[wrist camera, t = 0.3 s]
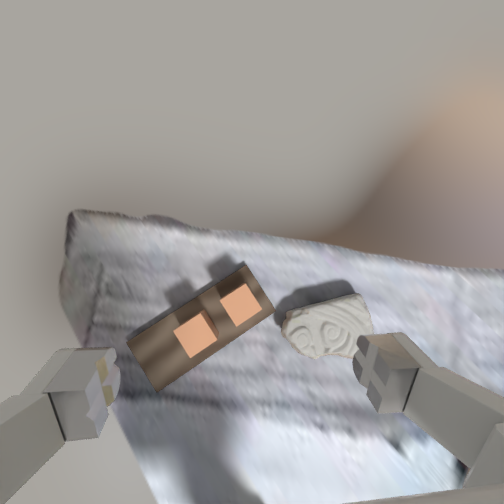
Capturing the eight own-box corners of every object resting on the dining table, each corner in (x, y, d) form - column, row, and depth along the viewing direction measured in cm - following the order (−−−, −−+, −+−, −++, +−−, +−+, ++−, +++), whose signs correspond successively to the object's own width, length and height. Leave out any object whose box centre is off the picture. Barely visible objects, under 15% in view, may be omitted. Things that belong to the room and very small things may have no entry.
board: (275, 310, 61) (276, 310, 60) (158, 390, 57) (156, 392, 56) (246, 265, 62) (246, 264, 61) (128, 341, 58) (126, 342, 56)
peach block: (258, 305, 60) (262, 309, 53) (235, 321, 59) (236, 326, 52) (243, 282, 60) (245, 283, 53) (221, 297, 59) (219, 300, 52)
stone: (355, 291, 64) (366, 292, 58) (372, 352, 62) (385, 358, 57) (274, 312, 62) (278, 315, 56) (290, 375, 60) (295, 384, 55)
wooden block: (218, 332, 58) (217, 339, 51) (195, 348, 58) (190, 358, 51) (204, 309, 59) (200, 313, 52) (180, 324, 58) (173, 331, 51)
